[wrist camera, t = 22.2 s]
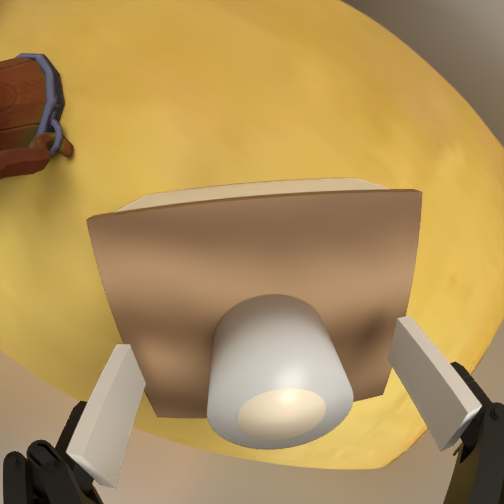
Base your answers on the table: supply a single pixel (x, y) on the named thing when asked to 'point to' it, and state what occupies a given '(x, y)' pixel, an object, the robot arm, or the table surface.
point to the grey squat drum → (275, 375)
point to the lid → (257, 279)
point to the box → (251, 190)
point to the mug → (30, 115)
